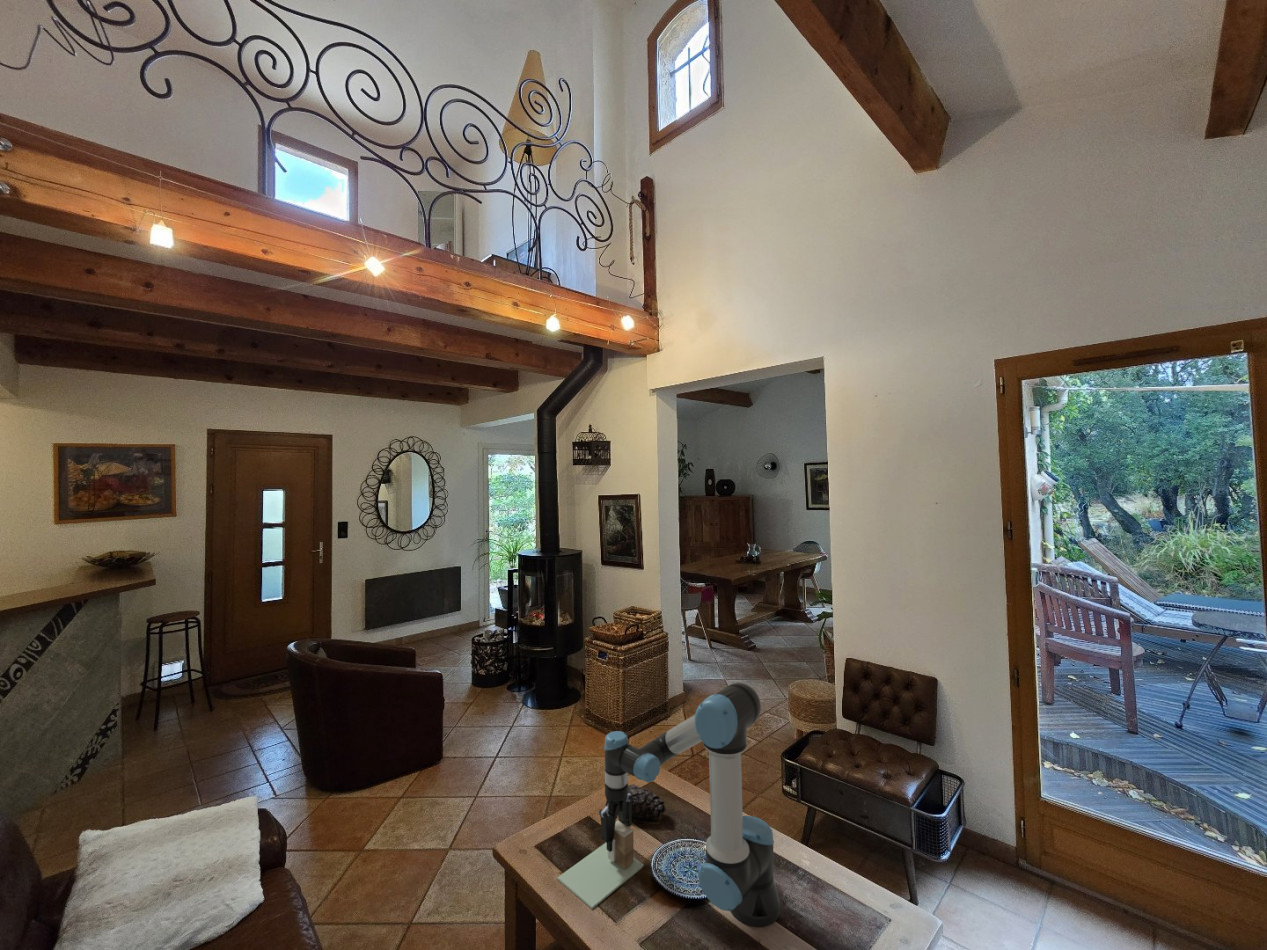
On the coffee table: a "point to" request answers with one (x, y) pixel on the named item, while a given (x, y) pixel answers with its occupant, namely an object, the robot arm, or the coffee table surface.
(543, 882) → the coffee table surface
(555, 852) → the coffee table surface
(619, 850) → the beige rectangular block
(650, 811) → the pine cone
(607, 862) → the mat
